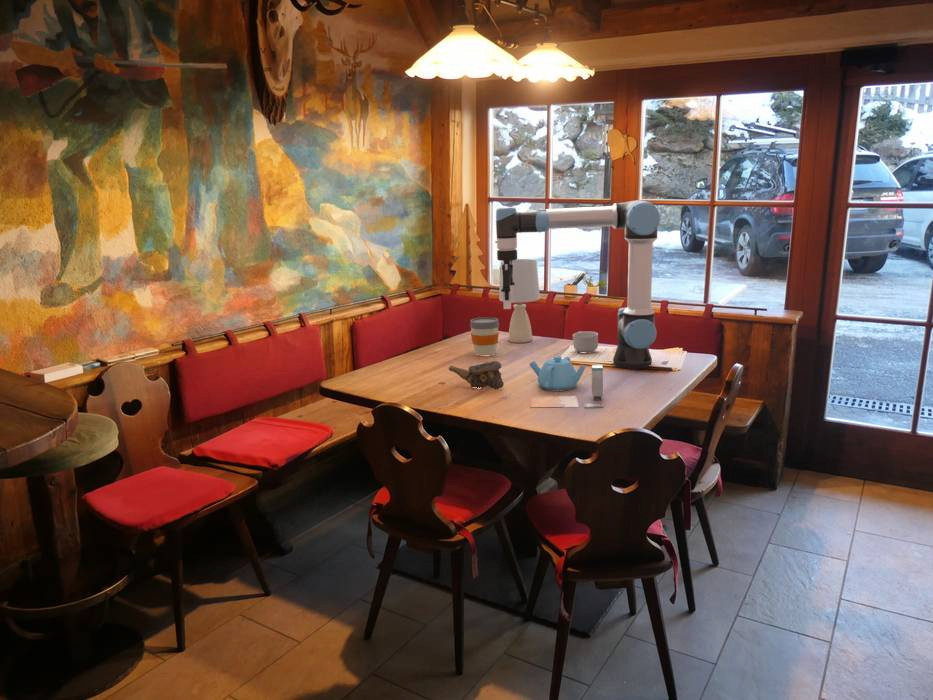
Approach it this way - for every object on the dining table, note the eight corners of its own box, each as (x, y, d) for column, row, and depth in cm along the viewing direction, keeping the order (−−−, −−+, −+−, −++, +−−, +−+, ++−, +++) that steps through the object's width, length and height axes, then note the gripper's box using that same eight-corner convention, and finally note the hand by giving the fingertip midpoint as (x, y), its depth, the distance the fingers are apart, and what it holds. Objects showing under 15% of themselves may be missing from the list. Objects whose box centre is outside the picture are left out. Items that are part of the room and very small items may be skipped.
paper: (576, 396, 264) (576, 396, 264) (578, 407, 252) (578, 406, 252) (529, 397, 265) (529, 396, 265) (530, 407, 254) (530, 407, 254)
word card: (601, 404, 255) (601, 403, 255) (603, 407, 251) (603, 406, 251) (583, 404, 255) (583, 403, 255) (584, 408, 251) (584, 407, 251)
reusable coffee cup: (468, 357, 326) (467, 322, 323) (474, 350, 338) (473, 317, 335) (497, 357, 324) (496, 323, 320) (502, 350, 336) (501, 317, 332)
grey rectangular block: (601, 397, 262) (602, 365, 260) (602, 400, 259) (603, 367, 256) (591, 397, 262) (591, 365, 260) (592, 400, 259) (592, 368, 256)
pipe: (500, 392, 273) (500, 365, 271) (443, 389, 280) (442, 363, 277) (506, 385, 282) (506, 359, 279) (451, 382, 288) (450, 357, 286)
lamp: (529, 346, 342) (528, 264, 333) (493, 343, 351) (490, 263, 342) (547, 338, 357) (545, 259, 349) (511, 335, 366) (509, 258, 358)
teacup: (599, 354, 322) (599, 335, 321) (574, 355, 323) (574, 336, 321) (594, 346, 336) (594, 329, 334) (570, 347, 336) (570, 330, 334)
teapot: (565, 377, 289) (565, 349, 286) (587, 389, 273) (587, 359, 270) (528, 382, 284) (527, 353, 281) (548, 395, 268) (547, 364, 265)
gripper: (499, 246, 295) (501, 300, 300) (494, 253, 271) (495, 311, 276) (519, 245, 294) (520, 299, 299) (515, 252, 270) (516, 311, 275)
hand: (508, 305), depth 288 cm, fingers open, 13 cm apart
